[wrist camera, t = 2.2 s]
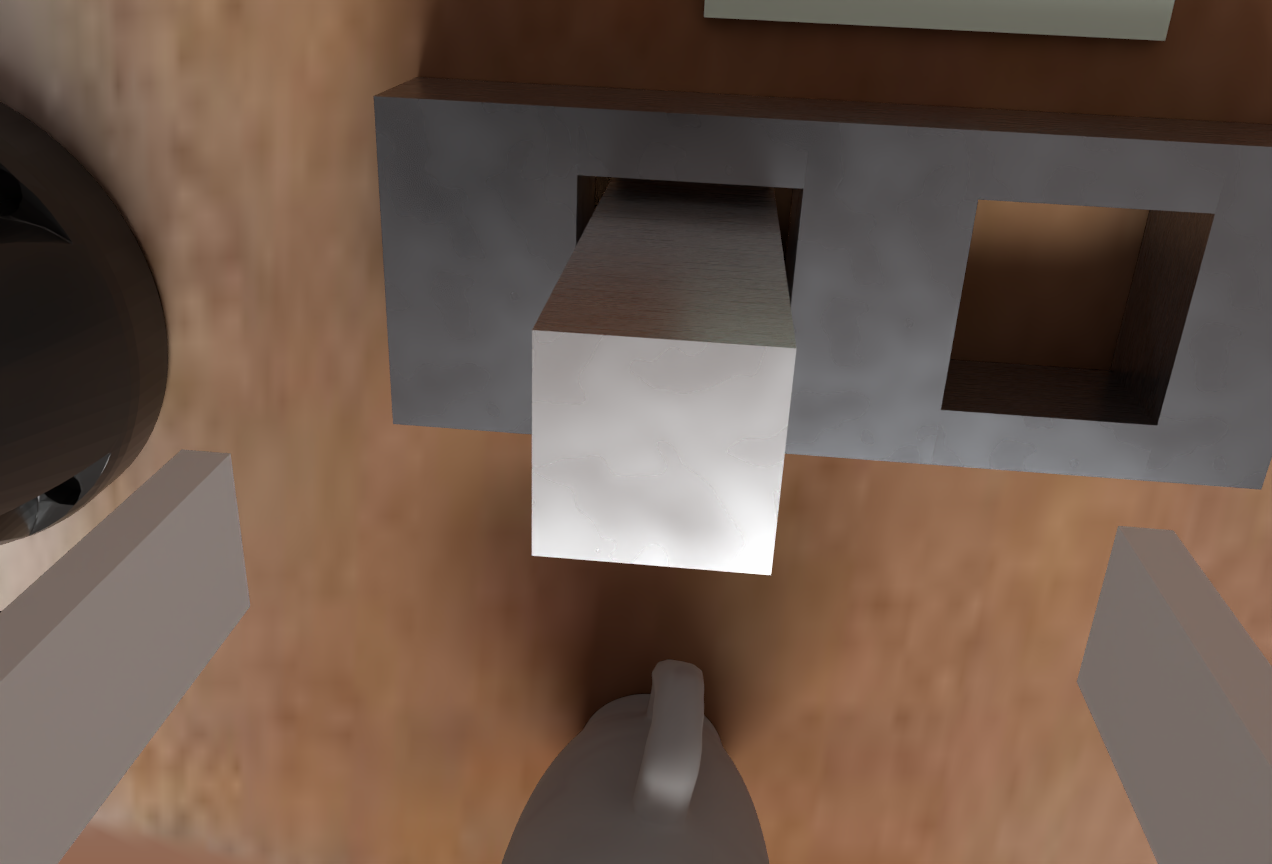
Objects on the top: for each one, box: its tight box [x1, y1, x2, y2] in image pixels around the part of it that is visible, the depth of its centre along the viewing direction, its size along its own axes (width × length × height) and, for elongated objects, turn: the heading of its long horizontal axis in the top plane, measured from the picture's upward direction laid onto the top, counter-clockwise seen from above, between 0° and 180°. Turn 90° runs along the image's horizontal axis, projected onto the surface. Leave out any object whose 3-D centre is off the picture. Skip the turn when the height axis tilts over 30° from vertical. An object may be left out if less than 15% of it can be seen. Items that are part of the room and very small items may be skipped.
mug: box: [502, 659, 769, 864], centre depth 35 cm, size 12×9×10 cm
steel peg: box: [532, 177, 796, 575], centre depth 25 cm, size 4×4×14 cm
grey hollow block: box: [374, 77, 1272, 489], centre depth 30 cm, size 24×9×4 cm, turn 88°
